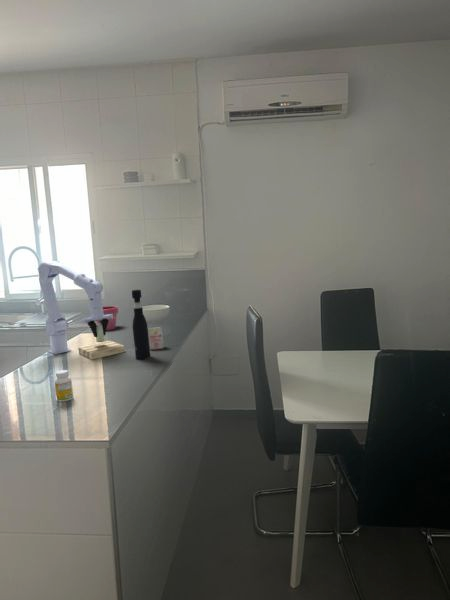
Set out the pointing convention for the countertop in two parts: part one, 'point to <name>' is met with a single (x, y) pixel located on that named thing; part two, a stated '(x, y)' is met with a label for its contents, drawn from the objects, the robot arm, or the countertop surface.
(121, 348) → the pocket block
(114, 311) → the plant pot
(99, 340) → the pin
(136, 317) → the wine bottle
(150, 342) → the white pink printed box
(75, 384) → the countertop surface
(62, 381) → the supplement bottle
